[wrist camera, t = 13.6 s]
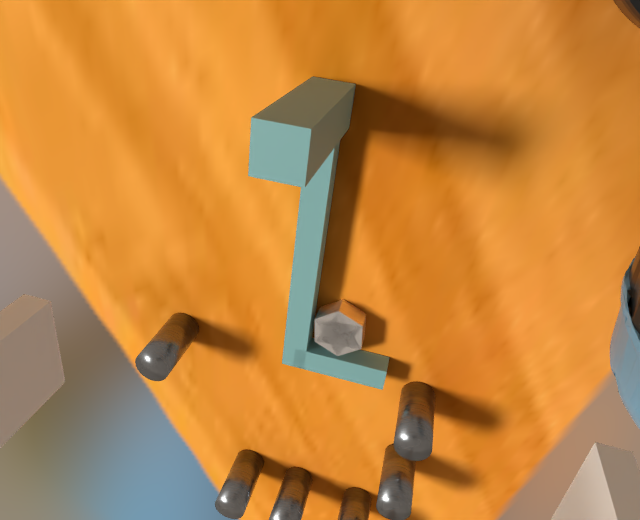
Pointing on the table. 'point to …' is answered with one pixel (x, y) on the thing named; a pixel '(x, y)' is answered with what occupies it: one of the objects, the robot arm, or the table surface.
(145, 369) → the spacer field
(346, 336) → the hexagonal star block
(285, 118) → the teal bent bar
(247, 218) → the table surface
